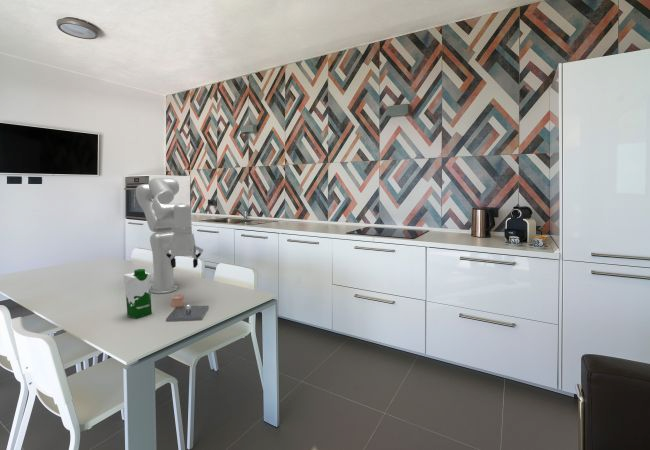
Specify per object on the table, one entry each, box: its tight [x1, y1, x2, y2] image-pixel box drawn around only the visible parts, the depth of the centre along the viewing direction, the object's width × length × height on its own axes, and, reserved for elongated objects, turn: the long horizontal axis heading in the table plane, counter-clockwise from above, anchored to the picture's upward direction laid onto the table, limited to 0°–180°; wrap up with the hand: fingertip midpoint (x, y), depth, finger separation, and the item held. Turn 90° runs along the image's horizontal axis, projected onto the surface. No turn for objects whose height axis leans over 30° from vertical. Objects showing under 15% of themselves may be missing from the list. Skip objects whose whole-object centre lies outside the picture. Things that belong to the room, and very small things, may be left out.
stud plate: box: [165, 303, 210, 322], centre depth 145 cm, size 14×14×4 cm
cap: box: [170, 294, 185, 308], centre depth 156 cm, size 5×5×4 cm
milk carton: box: [123, 268, 153, 320], centre depth 144 cm, size 9×9×20 cm
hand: (184, 267), depth 157 cm, fingers open, 9 cm apart
